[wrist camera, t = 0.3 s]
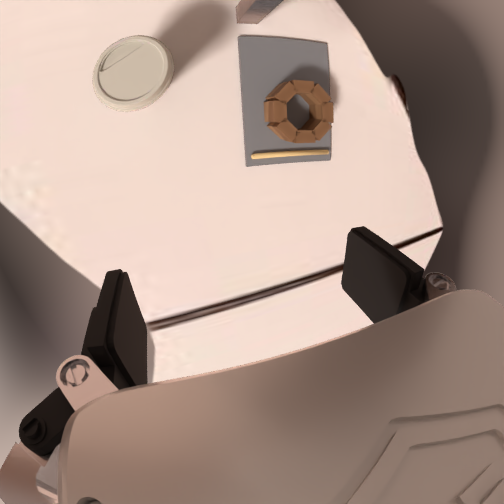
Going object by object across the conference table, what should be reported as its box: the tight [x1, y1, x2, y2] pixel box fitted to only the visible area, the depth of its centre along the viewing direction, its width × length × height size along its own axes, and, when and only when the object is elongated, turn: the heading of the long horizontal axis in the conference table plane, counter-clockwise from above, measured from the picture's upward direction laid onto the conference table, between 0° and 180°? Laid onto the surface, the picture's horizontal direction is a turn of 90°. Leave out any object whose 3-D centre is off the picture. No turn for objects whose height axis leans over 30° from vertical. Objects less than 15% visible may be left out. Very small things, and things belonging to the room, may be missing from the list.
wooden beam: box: [236, 0, 283, 24], centre depth 23 cm, size 3×3×11 cm
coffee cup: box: [93, 35, 174, 112], centre depth 24 cm, size 8×8×12 cm
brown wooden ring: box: [264, 80, 333, 143], centre depth 34 cm, size 9×9×4 cm
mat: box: [238, 36, 331, 167], centre depth 35 cm, size 20×14×1 cm
